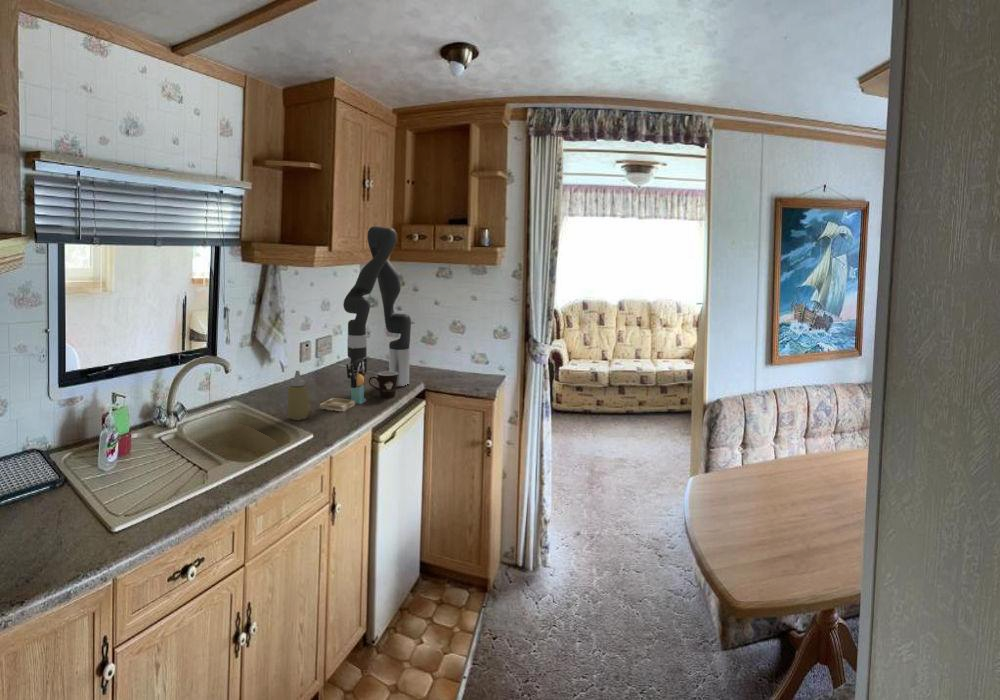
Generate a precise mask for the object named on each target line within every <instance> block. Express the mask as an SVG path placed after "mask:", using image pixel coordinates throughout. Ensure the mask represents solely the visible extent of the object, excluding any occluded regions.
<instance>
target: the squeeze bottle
mask: <svg viewBox="0 0 1000 700" xmlns="http://www.w3.org/2000/svg"><path fill="white" fill-rule="evenodd" d="M309 396H310V395H309V390H308V386H306V385H305V380H304V379H303V378H302V377H301V374H300V370H295V373H294V378H293V379H292V380H291V381H290V386H289V387H288V390H287V404H286V405H287V406H286V411H287V413H288V416H289V418H290V420H292V419H293V421H303V420H306V419H308V416H309V414H310V411H311V410H310V409H311V405H310V397H309ZM302 419H303V420H302Z"/></svg>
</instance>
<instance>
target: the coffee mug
mask: <svg viewBox="0 0 1000 700" xmlns="http://www.w3.org/2000/svg"><path fill="white" fill-rule="evenodd" d="M397 377H398V373H397V372H393V371H389V370H387V371H386V370H385V371H379V372H377V376H371V377H369V379H368V384H369V385H370V387H372V388H374V389H375V390H378V392H379V397H380V398H383V399H390V398H391V397H392V398H395V397H396V394H397V393H396V392H397V386H396V385H397ZM372 379H375V380H376V381H377V382H378V387H376V386H374V385H373V384H372V382H371V381H372ZM392 398H391V399H392Z"/></svg>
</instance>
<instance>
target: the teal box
mask: <svg viewBox="0 0 1000 700" xmlns="http://www.w3.org/2000/svg"><path fill="white" fill-rule="evenodd" d="M364 388H365V386H364V384H362V385H361V386H359V387H356V388H351V387H350V396H351V397H350V400H355V405H361V404H363V403H365V402H367V398H365V389H364Z"/></svg>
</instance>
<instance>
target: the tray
mask: <svg viewBox="0 0 1000 700" xmlns="http://www.w3.org/2000/svg"><path fill="white" fill-rule="evenodd" d="M355 406H356V404H355V400H351V399H348V398H347V399H346V398H337V397H331V398H330V399H328V400H326V401H325V400H324V402H322V403H319V410H323V409H327V411H333V410H335V411H336V412H342V411H343V412H346V411H347V410H349V409H351V408H352V407H355Z"/></svg>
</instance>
